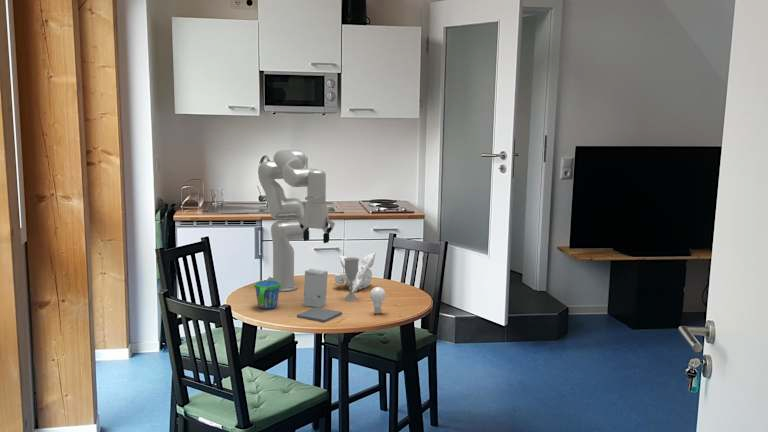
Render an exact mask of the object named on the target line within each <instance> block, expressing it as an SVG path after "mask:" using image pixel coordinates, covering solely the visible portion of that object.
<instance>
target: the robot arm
mask: <svg viewBox="0 0 768 432" xmlns="http://www.w3.org/2000/svg"><path fill="white" fill-rule="evenodd" d="M306 164H307V156H306V154H305V153H304V151H302V150H301V149H281V150H278V151H276V152H275V153H274V155H273V159H272V160H267V161H264V162H262V163H260V164H259V166H258V168H257V169H258V170H257V175H258V179H259V183H260V185H261V187H262V190H263V192H264V194H265V197H266V201H267V206H268V211H269V214H270V217H271V218H272V219H274V220H276V221H274V222H273V223H272V224H271V227H270V234H271V239H272V240H271V241H272V277H270V276H269V277H268V278H267V279H266V280H272V281H278V282H280V284H281V286H280V288H279V292H291V291H295V290H297V289H298V285H297V284H296V283H295V250H294V248H293V246H292V244H291V243H290V242H292V241H302V240H303V241H304V242H306V241H307V242H308V241H309V240H310V229H318V230H319V229H320V230H322V231H323V232H324V233H323V235H322V237H323V239H322V240H323V242H322V243H323V244H328V243H329V241H330V233H331V232H332V230H334V227H335V226H336V225H335V224H336V223H335V222H334V221H333V220H331V219H330V218H329V217H330V216H329V209H328V205H327V204H328V203H326V200H327V199H326V195H327V194H326V189H327V188H326V186H327V184H326V183H327V177H326V175H327V174H326V172H325V171H324V170H319V169H316V168H305V166H306ZM276 180H284V182H285V183H286V184H287V185H289V186H290V187H293V188H305V187H306V189H307V190H306V194H307V196H305V197H304V200H305V201H306V202H305V204H303V202H302V201H301V199H300V198H296V197H294V198H291V197H290V198H287V197H286V196H285V191H284V188H283V187H282V186H281V184H280V183H278V182H277V181H276Z"/></svg>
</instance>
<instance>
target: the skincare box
mask: <svg viewBox="0 0 768 432" xmlns="http://www.w3.org/2000/svg"><path fill="white" fill-rule="evenodd" d="M328 273H329V272H328V270H327V271H326V270H321V269H315V268H313V269H312V268H310V269H308V270H304V283H303V284H304V286H303V302H302V304H303V306H304V307H312V308H314V307H317V308H322V307H324V306H326V305H327V293H328V292H327V289H328Z"/></svg>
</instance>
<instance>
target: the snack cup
mask: <svg viewBox="0 0 768 432" xmlns="http://www.w3.org/2000/svg"><path fill="white" fill-rule="evenodd" d="M280 286H281V284H280V282H278V281H272V280H267V279H266V280H259V281H256V282H255V283H254V285H253V287H254V288H255V294H256V299H257V300H256V301H257V307H258V308H260V309H264V310H271V309H275V308H276V307H277V305H278V300H279V293H280V291H279V288H280Z"/></svg>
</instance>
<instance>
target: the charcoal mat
mask: <svg viewBox="0 0 768 432" xmlns="http://www.w3.org/2000/svg"><path fill="white" fill-rule="evenodd" d="M341 315H343V311H338V310H333V309H330V308H329V309H328V308H322V307H320V308H318V307H312V308H310V309H307V310H304V311H303V312H301V313H298V314H296V318H298V319H299V318H300V319H305V320H309V321H315V322H320V323H326V322H329V321H331V320H333V319H335V318H337V317H340V316H341Z"/></svg>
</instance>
